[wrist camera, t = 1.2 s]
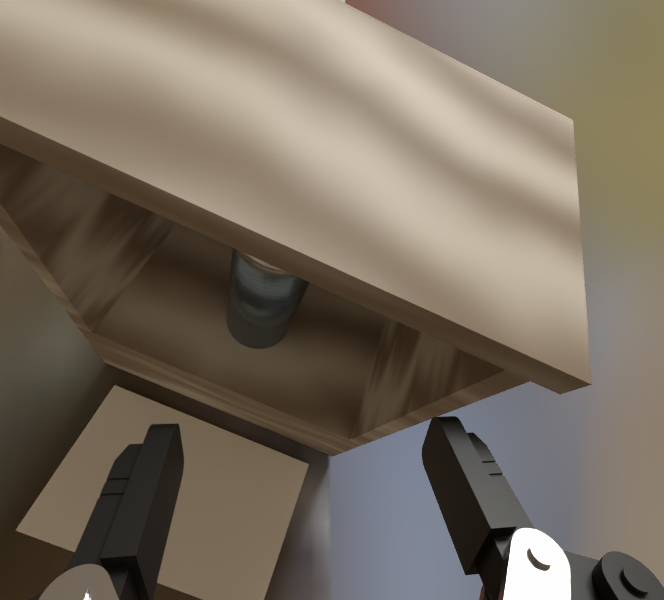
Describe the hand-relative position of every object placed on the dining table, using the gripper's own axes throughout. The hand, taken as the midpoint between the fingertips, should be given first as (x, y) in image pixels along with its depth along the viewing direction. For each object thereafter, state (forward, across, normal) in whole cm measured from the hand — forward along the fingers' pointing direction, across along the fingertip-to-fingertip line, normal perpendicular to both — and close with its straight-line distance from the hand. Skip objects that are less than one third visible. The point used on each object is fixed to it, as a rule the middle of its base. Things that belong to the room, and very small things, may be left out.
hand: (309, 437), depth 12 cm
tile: (+11, +8, +20) cm, 24 cm away
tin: (+18, +2, +7) cm, 19 cm away
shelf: (+23, +3, +13) cm, 26 cm away
